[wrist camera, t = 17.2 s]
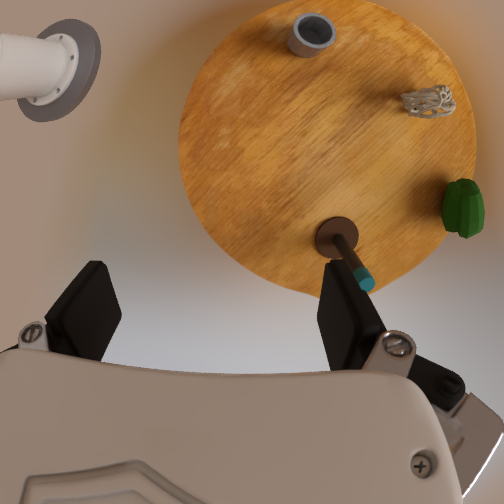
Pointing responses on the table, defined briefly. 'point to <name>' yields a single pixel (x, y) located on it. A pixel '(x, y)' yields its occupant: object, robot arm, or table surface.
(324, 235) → the coaster
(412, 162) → the table surface
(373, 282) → the marker
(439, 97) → the bracelet
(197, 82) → the table surface
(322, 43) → the pot
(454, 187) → the bell pepper
